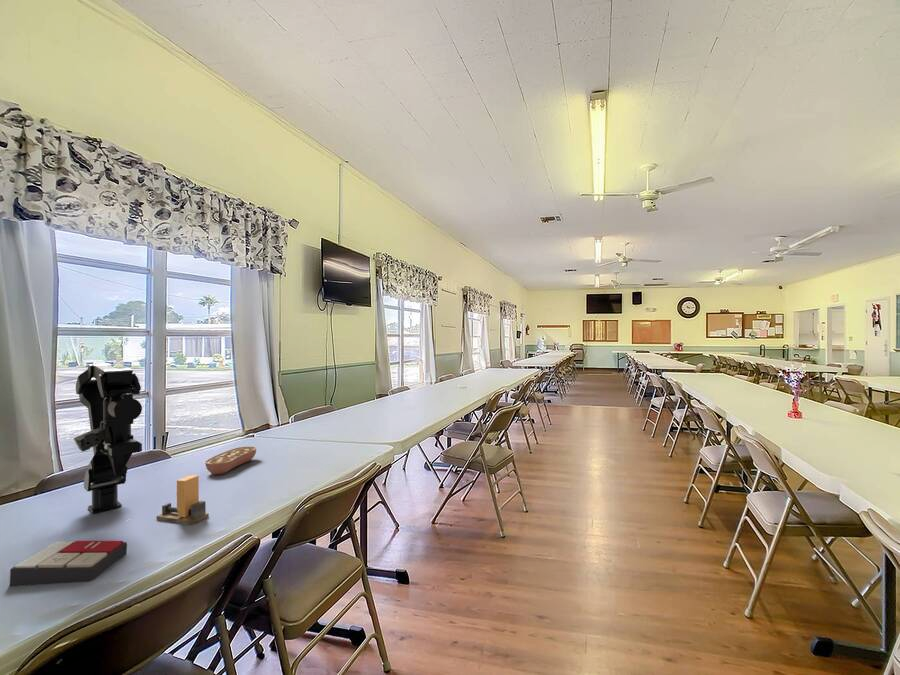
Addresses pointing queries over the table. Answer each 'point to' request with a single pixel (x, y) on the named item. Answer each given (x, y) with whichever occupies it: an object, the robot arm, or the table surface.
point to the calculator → (68, 562)
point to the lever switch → (194, 517)
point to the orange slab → (187, 494)
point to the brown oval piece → (229, 459)
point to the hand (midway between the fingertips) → (117, 475)
